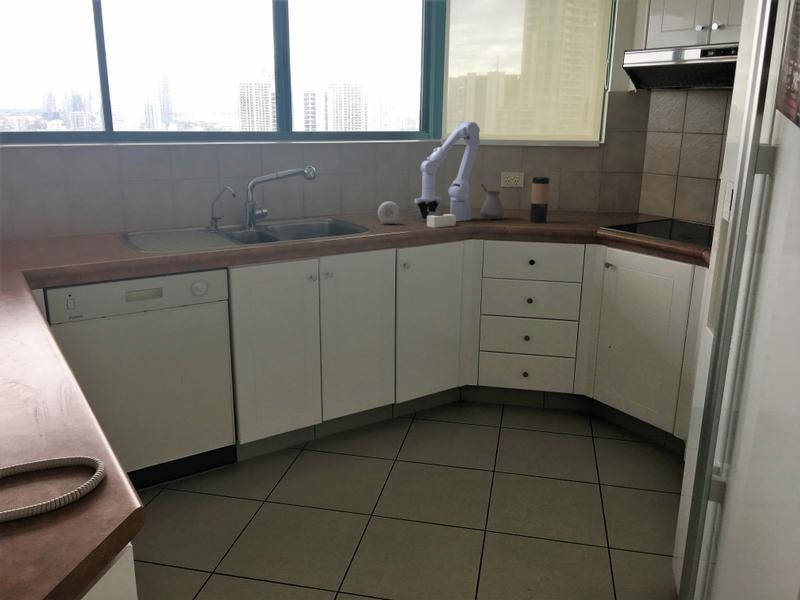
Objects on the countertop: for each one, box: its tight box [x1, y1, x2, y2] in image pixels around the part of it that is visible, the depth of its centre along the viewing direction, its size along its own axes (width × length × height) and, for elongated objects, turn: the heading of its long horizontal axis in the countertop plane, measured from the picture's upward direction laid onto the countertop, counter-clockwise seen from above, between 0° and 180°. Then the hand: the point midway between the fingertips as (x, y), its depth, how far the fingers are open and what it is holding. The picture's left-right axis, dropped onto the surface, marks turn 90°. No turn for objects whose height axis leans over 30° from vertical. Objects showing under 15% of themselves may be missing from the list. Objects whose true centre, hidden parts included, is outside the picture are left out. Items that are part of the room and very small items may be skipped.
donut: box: [377, 200, 401, 225], centre depth 291 cm, size 10×4×10 cm, turn 105°
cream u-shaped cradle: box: [426, 213, 457, 229], centre depth 289 cm, size 12×5×4 cm, turn 129°
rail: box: [412, 208, 444, 223], centre depth 302 cm, size 4×16×5 cm, turn 39°
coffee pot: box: [479, 183, 505, 220], centre depth 317 cm, size 21×12×15 cm, turn 14°
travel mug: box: [529, 176, 550, 224], centre depth 304 cm, size 8×8×20 cm
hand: (427, 218), depth 302 cm, fingers closed on rail, 3 cm apart
